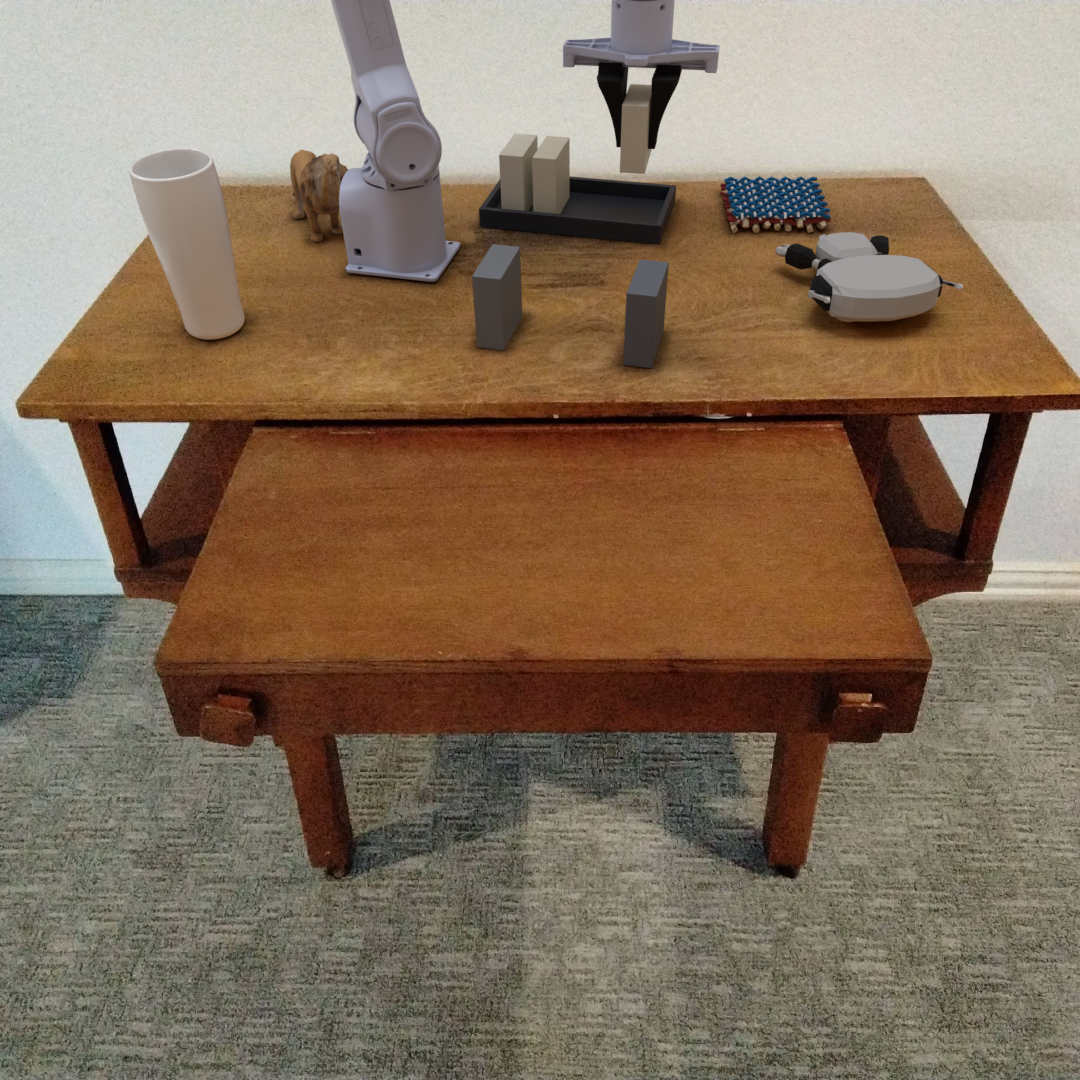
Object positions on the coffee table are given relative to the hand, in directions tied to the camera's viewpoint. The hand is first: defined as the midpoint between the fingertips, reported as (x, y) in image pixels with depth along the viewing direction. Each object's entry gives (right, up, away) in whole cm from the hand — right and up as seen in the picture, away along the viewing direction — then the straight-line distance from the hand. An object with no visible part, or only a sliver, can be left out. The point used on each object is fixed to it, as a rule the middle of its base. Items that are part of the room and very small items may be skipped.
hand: (636, 144), depth 97 cm
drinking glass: (-39, -20, -8) cm, 45 cm away
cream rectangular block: (0, -1, +1) cm, 2 cm away
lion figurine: (-33, -6, +7) cm, 34 cm away
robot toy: (+20, -17, -7) cm, 27 cm away
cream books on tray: (-10, -3, +8) cm, 13 cm away
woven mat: (+15, -5, +7) cm, 17 cm away
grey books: (-7, -22, -11) cm, 26 cm away
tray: (-5, -5, +7) cm, 10 cm away
